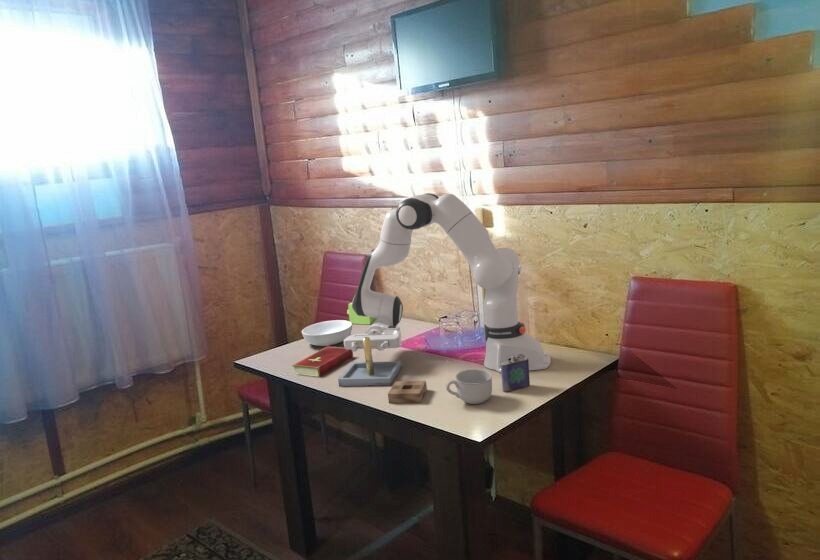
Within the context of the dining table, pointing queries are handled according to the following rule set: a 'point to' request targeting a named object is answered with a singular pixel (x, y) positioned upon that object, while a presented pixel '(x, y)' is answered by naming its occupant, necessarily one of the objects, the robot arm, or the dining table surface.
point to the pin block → (407, 392)
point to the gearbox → (358, 317)
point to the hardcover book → (322, 361)
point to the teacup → (472, 385)
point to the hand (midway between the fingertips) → (366, 348)
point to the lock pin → (368, 356)
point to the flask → (515, 374)
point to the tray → (359, 376)
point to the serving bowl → (327, 332)
